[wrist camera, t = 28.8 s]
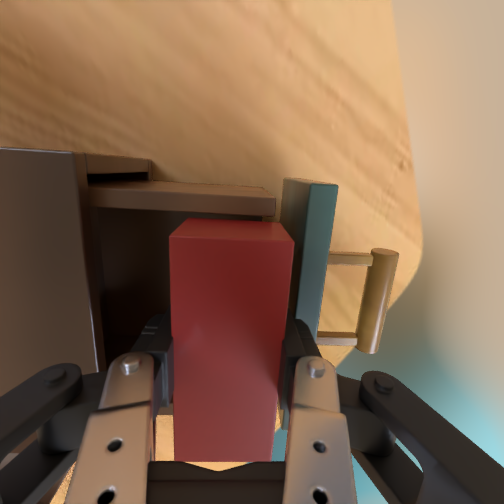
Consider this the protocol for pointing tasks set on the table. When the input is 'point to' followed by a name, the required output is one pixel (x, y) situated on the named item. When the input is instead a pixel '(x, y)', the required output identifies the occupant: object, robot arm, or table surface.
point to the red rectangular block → (227, 336)
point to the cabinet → (51, 261)
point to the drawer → (230, 208)
